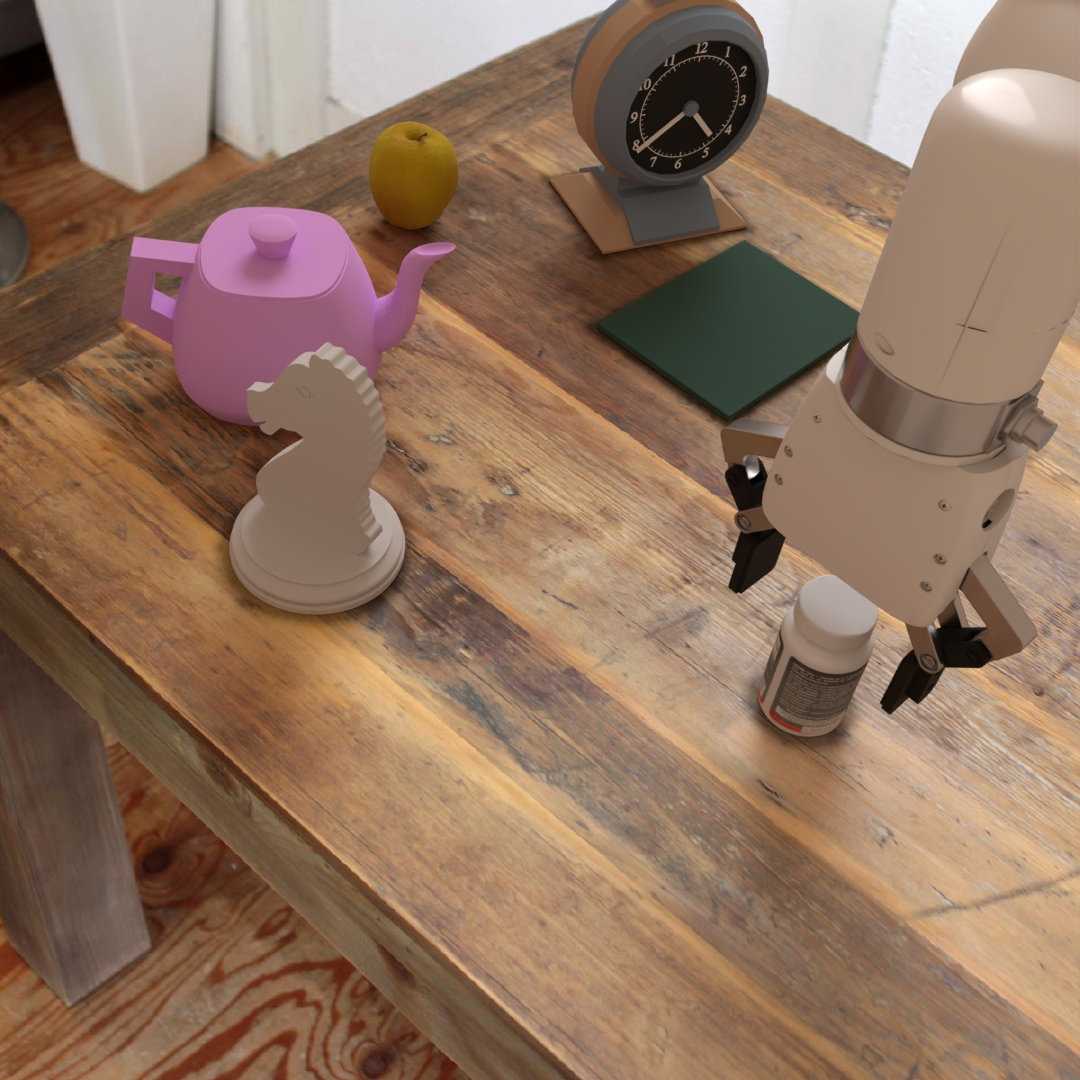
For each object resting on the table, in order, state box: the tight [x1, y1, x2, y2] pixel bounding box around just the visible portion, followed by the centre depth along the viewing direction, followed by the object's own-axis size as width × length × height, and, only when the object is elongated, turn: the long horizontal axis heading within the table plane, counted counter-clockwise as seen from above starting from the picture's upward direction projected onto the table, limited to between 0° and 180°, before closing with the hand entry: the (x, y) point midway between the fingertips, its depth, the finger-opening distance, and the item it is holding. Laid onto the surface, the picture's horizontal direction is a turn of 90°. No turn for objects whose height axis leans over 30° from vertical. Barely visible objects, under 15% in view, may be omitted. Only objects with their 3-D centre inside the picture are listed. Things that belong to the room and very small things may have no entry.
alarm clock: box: [549, 0, 770, 255], centre depth 96 cm, size 14×10×18 cm
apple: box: [368, 120, 459, 231], centre depth 95 cm, size 6×6×8 cm
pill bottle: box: [757, 574, 879, 738], centre depth 69 cm, size 5×5×8 cm
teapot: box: [120, 206, 457, 427], centre depth 82 cm, size 13×20×11 cm
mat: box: [595, 239, 860, 422], centre depth 93 cm, size 16×12×1 cm
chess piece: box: [228, 342, 406, 616], centre depth 70 cm, size 10×10×15 cm
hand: (823, 635), depth 67 cm, fingers open, 9 cm apart
